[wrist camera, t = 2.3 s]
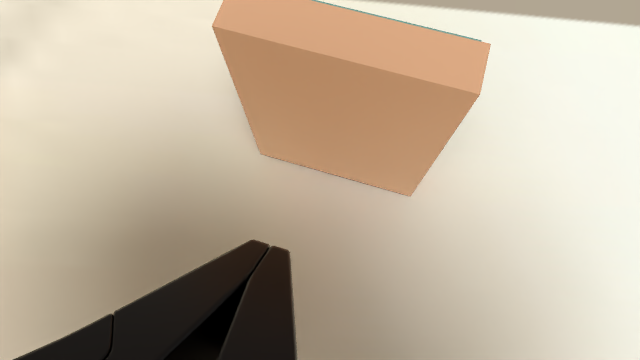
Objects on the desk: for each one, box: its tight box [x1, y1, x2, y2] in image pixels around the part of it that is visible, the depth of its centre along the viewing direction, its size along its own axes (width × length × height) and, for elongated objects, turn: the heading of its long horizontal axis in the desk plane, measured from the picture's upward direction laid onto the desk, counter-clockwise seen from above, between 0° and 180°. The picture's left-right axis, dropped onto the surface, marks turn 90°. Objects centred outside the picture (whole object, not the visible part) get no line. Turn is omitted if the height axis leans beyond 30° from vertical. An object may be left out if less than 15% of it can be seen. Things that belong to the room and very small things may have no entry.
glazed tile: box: [212, 0, 491, 196], centre depth 15 cm, size 2×7×9 cm, turn 73°
